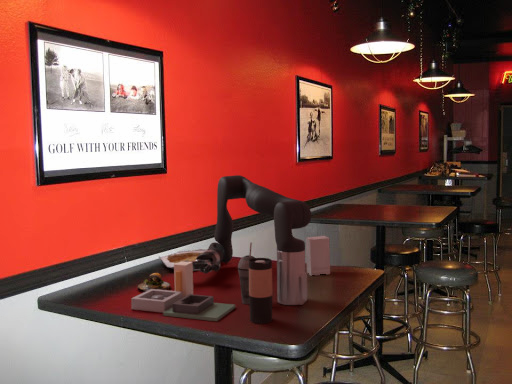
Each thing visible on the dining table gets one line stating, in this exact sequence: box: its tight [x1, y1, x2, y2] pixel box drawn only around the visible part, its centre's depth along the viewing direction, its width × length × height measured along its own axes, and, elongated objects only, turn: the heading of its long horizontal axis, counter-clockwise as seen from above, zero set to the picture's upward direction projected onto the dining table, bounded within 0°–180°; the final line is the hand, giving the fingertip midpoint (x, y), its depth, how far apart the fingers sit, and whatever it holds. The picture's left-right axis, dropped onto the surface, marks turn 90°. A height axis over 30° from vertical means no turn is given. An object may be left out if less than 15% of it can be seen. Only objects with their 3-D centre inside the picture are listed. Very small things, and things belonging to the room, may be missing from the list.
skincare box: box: [305, 235, 331, 277], centre depth 213 cm, size 8×6×15 cm
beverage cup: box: [237, 242, 256, 305], centre depth 175 cm, size 7×7×20 cm
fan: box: [130, 289, 183, 314], centre depth 176 cm, size 16×18×4 cm
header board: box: [162, 293, 236, 322], centre depth 167 cm, size 18×14×4 cm
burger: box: [136, 269, 172, 292], centre depth 194 cm, size 12×12×8 cm
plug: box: [173, 261, 194, 298], centre depth 181 cm, size 4×6×12 cm
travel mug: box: [248, 257, 273, 325], centre depth 157 cm, size 7×7×18 cm
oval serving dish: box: [158, 248, 208, 270], centre depth 234 cm, size 32×4×23 cm
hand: (194, 270), depth 192 cm, fingers open, 8 cm apart
